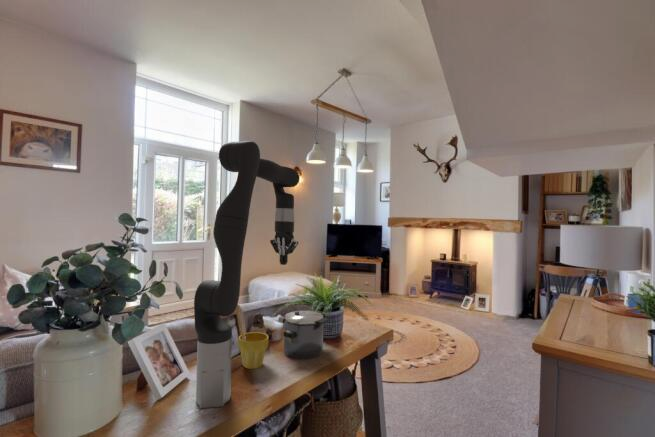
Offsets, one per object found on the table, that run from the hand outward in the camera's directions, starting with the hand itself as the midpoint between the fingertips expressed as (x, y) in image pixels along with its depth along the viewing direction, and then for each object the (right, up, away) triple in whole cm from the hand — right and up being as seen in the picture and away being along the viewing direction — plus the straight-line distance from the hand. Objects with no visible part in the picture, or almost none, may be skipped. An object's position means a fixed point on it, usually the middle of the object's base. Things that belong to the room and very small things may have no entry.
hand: (283, 264), depth 135 cm
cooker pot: (+8, -33, -2) cm, 34 cm away
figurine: (-11, -33, +6) cm, 35 cm away
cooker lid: (+9, -21, -3) cm, 23 cm away
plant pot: (-9, -33, -15) cm, 37 cm away
